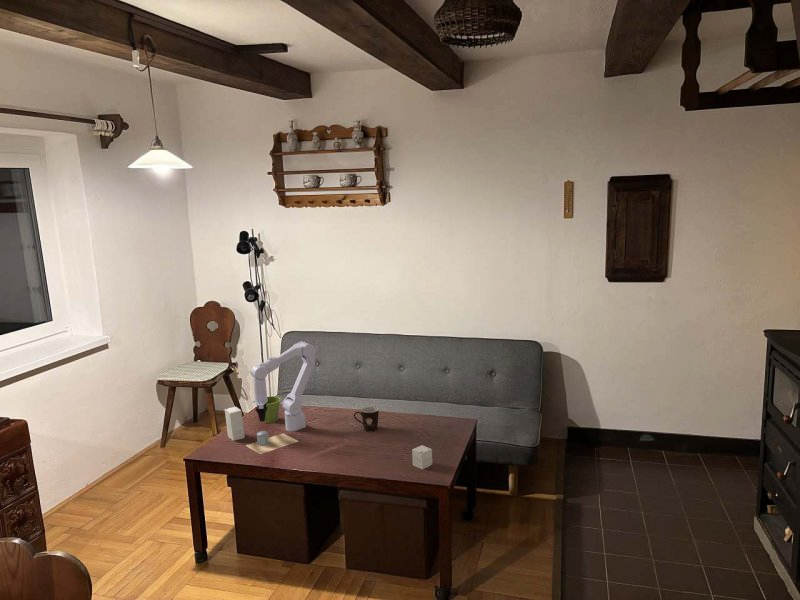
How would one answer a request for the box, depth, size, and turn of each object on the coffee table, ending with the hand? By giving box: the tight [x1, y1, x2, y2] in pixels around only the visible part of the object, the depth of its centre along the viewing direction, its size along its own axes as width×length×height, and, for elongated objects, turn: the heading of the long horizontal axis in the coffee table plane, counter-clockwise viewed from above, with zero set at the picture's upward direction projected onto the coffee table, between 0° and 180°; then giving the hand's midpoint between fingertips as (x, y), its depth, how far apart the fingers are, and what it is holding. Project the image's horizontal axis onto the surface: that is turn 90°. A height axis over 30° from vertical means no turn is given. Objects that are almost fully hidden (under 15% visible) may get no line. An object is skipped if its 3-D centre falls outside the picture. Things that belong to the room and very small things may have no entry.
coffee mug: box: [353, 406, 380, 432], centre depth 310 cm, size 12×9×10 cm
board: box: [244, 433, 299, 455], centre depth 295 cm, size 20×14×1 cm
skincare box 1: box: [224, 406, 246, 441], centre depth 303 cm, size 8×6×15 cm
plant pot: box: [263, 395, 282, 424], centre depth 326 cm, size 12×12×11 cm
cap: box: [256, 430, 270, 446], centre depth 294 cm, size 5×5×5 cm
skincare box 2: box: [411, 444, 433, 470], centre depth 268 cm, size 6×6×7 cm
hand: (262, 418), depth 302 cm, fingers open, 7 cm apart
